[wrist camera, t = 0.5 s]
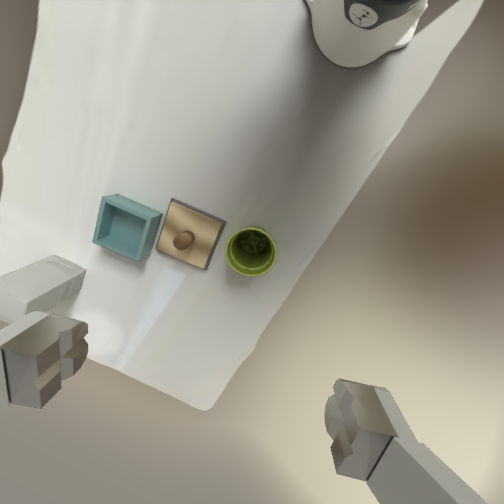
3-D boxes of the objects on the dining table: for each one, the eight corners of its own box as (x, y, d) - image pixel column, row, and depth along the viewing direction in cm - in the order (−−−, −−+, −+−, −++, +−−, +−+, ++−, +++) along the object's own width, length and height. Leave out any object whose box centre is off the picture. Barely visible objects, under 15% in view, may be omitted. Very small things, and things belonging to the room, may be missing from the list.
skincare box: (48, 275, 58) (-26, 310, 43) (54, 252, 56) (-22, 281, 41) (81, 290, 59) (19, 330, 44) (88, 268, 57) (25, 303, 42)
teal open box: (117, 194, 51) (102, 196, 46) (162, 213, 51) (151, 218, 47) (107, 236, 54) (92, 242, 49) (150, 253, 55) (138, 261, 50)
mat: (172, 198, 50) (171, 198, 50) (225, 221, 51) (225, 222, 50) (156, 247, 54) (155, 248, 53) (206, 269, 55) (205, 270, 54)
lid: (173, 201, 50) (161, 205, 45) (222, 223, 50) (216, 229, 45) (158, 247, 53) (146, 256, 48) (204, 267, 54) (197, 277, 49)
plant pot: (260, 267, 54) (259, 285, 46) (224, 246, 53) (215, 260, 45) (284, 233, 51) (287, 245, 43) (246, 209, 50) (241, 217, 42)
